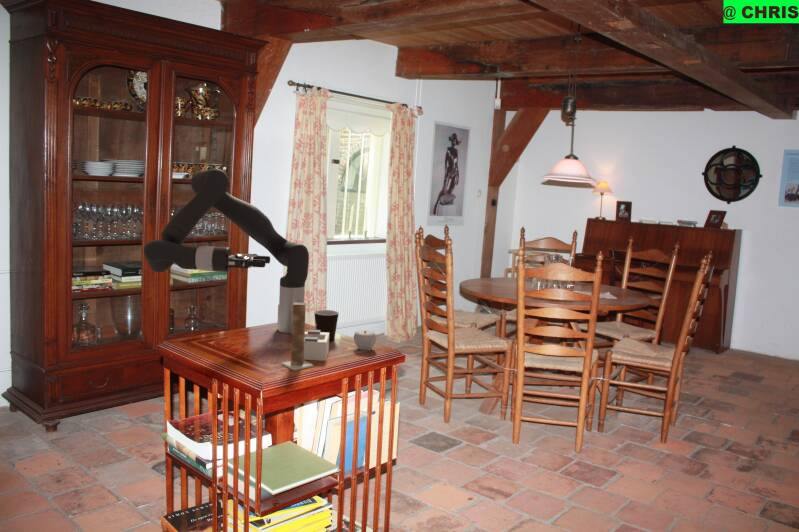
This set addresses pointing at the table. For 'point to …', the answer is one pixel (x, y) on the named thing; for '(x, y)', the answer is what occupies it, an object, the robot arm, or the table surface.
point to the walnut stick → (298, 333)
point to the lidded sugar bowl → (364, 339)
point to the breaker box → (316, 345)
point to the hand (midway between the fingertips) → (267, 261)
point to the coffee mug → (326, 322)
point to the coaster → (296, 367)
